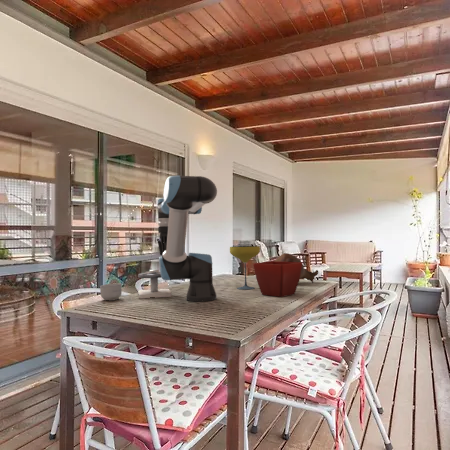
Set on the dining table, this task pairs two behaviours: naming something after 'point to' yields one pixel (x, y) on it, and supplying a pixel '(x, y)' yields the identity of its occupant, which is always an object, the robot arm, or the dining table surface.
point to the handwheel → (150, 274)
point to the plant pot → (277, 277)
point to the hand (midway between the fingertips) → (166, 268)
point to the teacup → (111, 291)
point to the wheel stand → (154, 290)
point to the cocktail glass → (245, 258)
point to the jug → (304, 273)
